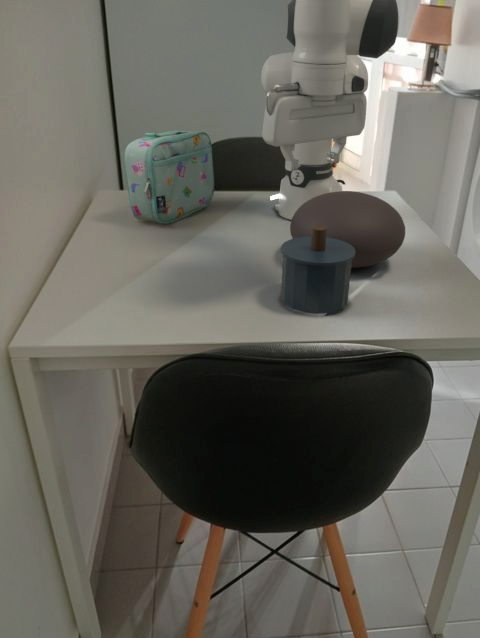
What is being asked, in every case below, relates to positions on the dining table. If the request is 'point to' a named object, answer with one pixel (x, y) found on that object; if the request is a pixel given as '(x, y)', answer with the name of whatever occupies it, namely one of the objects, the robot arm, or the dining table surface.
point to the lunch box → (169, 175)
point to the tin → (315, 287)
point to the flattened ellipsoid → (353, 224)
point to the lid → (318, 249)
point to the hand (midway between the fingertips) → (312, 166)
